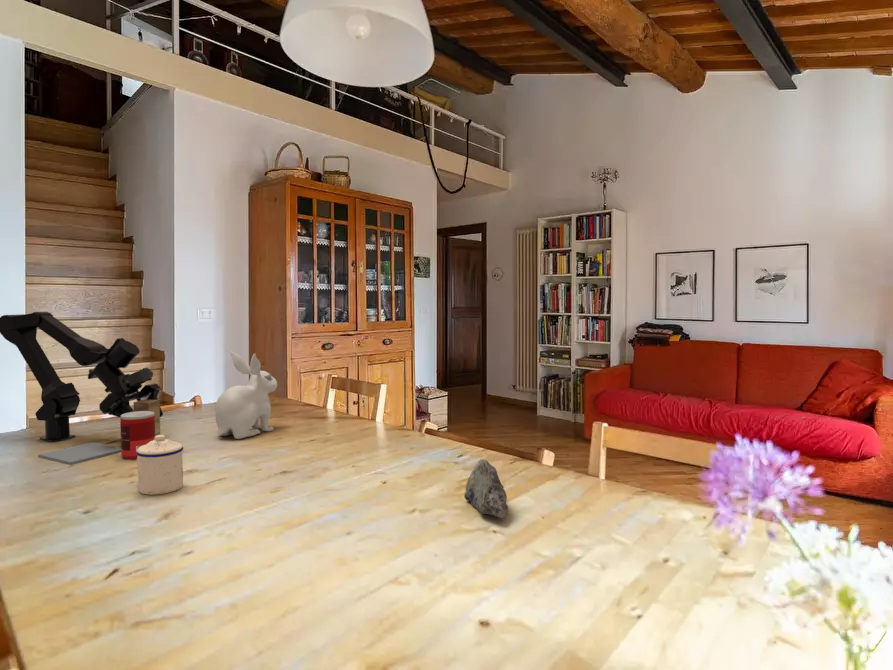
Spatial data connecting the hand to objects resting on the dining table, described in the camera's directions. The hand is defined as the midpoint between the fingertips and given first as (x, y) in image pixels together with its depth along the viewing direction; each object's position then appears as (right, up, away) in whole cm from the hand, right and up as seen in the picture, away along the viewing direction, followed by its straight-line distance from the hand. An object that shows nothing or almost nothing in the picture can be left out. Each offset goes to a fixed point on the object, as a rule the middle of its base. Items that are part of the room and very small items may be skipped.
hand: (151, 419), depth 159 cm
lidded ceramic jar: (+20, -10, -35) cm, 42 cm away
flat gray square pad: (-12, -8, -10) cm, 18 cm away
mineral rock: (+91, -11, -47) cm, 103 cm away
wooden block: (-1, -7, +1) cm, 7 cm away
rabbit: (+23, -6, +13) cm, 27 cm away
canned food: (+3, -8, -11) cm, 14 cm away
